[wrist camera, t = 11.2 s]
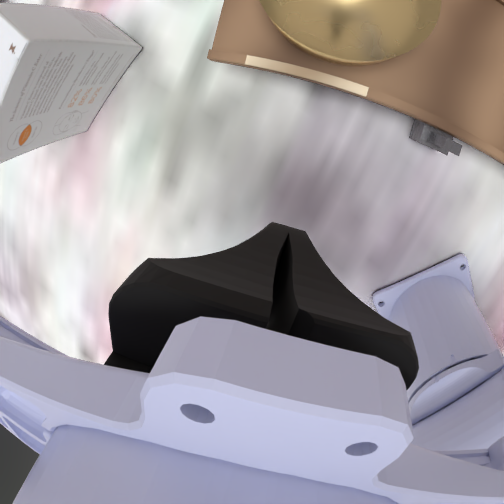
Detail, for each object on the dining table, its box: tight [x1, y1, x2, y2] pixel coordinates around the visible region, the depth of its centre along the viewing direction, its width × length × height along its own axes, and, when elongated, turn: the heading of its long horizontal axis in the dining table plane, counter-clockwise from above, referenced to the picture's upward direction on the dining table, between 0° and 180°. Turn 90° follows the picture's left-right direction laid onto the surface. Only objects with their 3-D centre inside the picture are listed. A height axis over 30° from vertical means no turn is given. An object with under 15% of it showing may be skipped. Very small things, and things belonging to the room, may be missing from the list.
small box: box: [0, 3, 142, 163], centre depth 14 cm, size 8×6×10 cm
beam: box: [207, 0, 504, 165], centre depth 11 cm, size 26×10×2 cm, turn 77°
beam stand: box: [409, 119, 462, 156], centre depth 12 cm, size 2×12×4 cm, turn 167°
